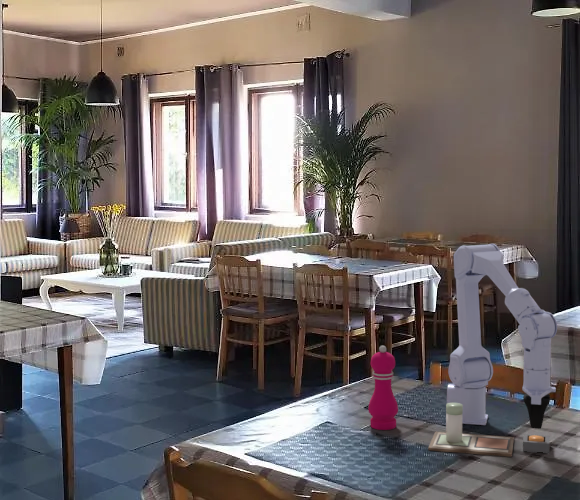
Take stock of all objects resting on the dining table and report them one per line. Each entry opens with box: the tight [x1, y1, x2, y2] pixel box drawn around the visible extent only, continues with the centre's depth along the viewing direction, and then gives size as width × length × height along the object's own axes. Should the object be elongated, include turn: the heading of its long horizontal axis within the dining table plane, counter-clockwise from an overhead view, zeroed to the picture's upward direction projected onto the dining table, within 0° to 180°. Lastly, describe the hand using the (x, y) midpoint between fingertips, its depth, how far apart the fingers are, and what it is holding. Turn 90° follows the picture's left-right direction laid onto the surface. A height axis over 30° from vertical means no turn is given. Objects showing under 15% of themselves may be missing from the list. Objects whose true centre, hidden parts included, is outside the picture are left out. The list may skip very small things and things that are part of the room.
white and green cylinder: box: [445, 402, 463, 443], centre depth 195 cm, size 4×4×8 cm
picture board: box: [427, 430, 515, 458], centre depth 194 cm, size 18×12×1 cm, turn 73°
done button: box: [529, 434, 544, 442], centre depth 191 cm, size 3×3×2 cm
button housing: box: [522, 433, 551, 454], centre depth 191 cm, size 6×6×2 cm
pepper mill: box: [368, 345, 399, 431], centre depth 208 cm, size 7×7×20 cm
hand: (536, 427), depth 190 cm, fingers closed
